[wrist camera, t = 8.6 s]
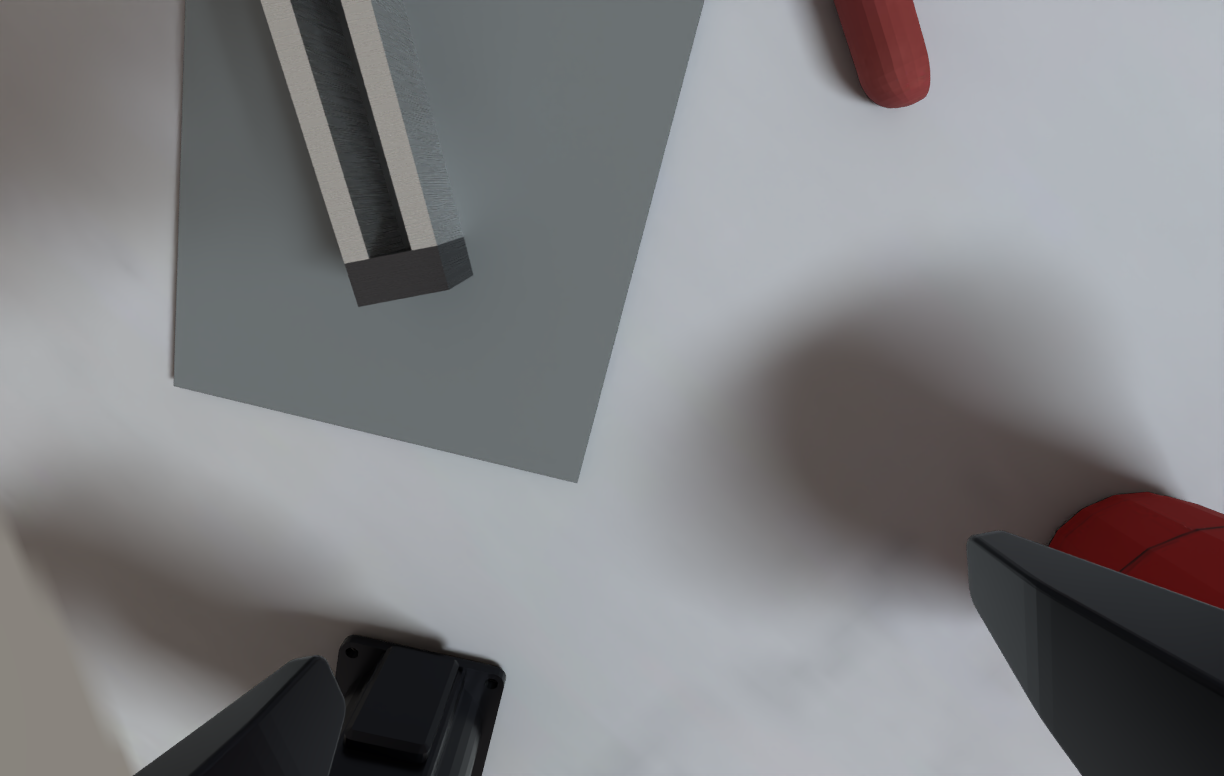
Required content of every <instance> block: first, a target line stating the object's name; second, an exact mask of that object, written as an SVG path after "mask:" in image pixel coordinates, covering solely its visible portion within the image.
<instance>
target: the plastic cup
mask: <svg viewBox="0 0 1224 776" xmlns="http://www.w3.org/2000/svg"><path fill="white" fill-rule="evenodd" d="M1048 547H1050V548H1053V549H1056V550H1058V551H1061V552H1064V553H1067V554H1070V555H1072V556H1075V557H1078V558H1081V559H1084V560H1086V561H1089V562H1092V563H1095V564H1098V565H1100V566H1103V567H1106V568H1109V569H1112V570H1114V571H1117V572H1120V573H1123V574H1126V575H1128V576H1131V577H1134V578H1137V579H1140V580H1142V581H1145V582H1148V583H1151V584H1153V585H1156V586H1159V587H1162V588H1165V589H1167V590H1170V591H1173V592H1176V593H1179V594H1181V595H1184V596H1187V597H1190V598H1193V599H1195V600H1198V601H1201V602H1204V603H1207V604H1209V605H1212V606H1215V607H1218V608H1221V609H1223V610H1224V514H1222V513H1219V512H1216V511H1214V510H1211V509H1208V508H1206V507H1203V506H1201V505H1198V504H1195V503H1191V502H1187V501H1184V500H1180V499H1176V498H1172V497H1169V496H1161V495H1158V494H1154V493H1150V492H1140V493H1130V494H1120V495H1113V496H1111V497H1109V498H1106V499H1104V500H1102V501H1099V502H1097V503H1095V504H1092V505H1090V506H1088V507H1085V508H1083V509H1082V510H1081V511H1079V512H1078V513H1077V514H1076V515H1075V516H1074V517H1072V518H1071V519H1070V520H1069V521H1068V522H1067V523H1065V524H1064V525H1063V526H1062V527H1061V528H1060V529H1059V530H1058V531H1057V532H1056V534H1055V536H1054V538H1053V539H1052V541H1051V543H1050V545H1049V546H1048Z"/></svg>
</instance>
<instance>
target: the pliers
mask: <svg viewBox="0 0 1224 776" xmlns="http://www.w3.org/2000/svg"><path fill="white" fill-rule="evenodd" d="M834 3H835V7H836V10H837V13H838V16H839V19H840V22H841V25H842V28H843V31H844V34H845V37H846V40H847V43H848V47H849V50H850V53H851V56H852V59H853V62H854V65H855V68H856V71H857V74H858V77H859V81H860V84H861V86H862V88H863V90H864V92H865V93H866V94H867V96H868V97H869V98H870V99H871V100H872V101H873V102H875V103H876V104H878V105H880V106H882V107H886V108H900V107H905V106H909V105H912V104H914V103H916V102H918V101H920V100H922V99H924V98H925V97H926V95H927V93H928V91H929V87H930V66H929V59H928V54H927V50H926V46H925V42H924V39H923V35H922V32H921V28H920V24H919V21H918V17H917V14H916V10H915V7H914V3H913V0H834Z"/></svg>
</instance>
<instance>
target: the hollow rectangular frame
mask: <svg viewBox="0 0 1224 776" xmlns="http://www.w3.org/2000/svg"><path fill="white" fill-rule="evenodd" d="M341 2H342V6H343V9H344V13H345V17H346V20H347V24H348V27H349V31H350V34H351V38H352V41H353V45H354V48H355V52H356V55H357V59H358V62H359V66H360V69H361V73H362V76H363V80H364V84H365V87H366V91H367V94H368V98H369V101H370V105H371V108H372V112H373V115H374V119H375V122H376V126H377V129H378V133H379V136H380V140H381V143H382V147H383V151H384V154H385V158H386V161H387V165H388V168H389V172H390V175H391V179H392V182H393V186H394V189H395V193H396V196H397V200H398V203H399V207H400V210H401V214H402V218H403V221H404V225H405V228H406V232H407V235H408V239H409V242H410V246H411V247H408V248H405V247H404V244H403V240H402V237H401V233H400V230H399V226H398V223H397V219H396V216H395V212H394V209H393V205H392V202H391V198H390V195H389V191H388V188H387V184H386V181H385V177H384V174H383V171H382V167H381V164H380V160H379V157H378V153H377V150H376V146H375V143H374V139H373V136H372V132H371V129H370V125H369V122H368V118H367V115H366V111H365V108H364V104H363V101H362V97H361V94H360V90H359V87H358V83H357V80H356V76H355V73H354V69H353V66H352V62H351V59H350V55H349V52H348V48H347V45H346V41H345V38H344V35H343V31H342V28H341V24H340V21H339V17H338V14H337V10H336V7H335V3H334V0H261V3H262V7H263V10H264V13H265V16H266V19H267V22H268V25H269V29H270V32H271V35H272V38H273V41H274V44H275V47H276V50H277V54H278V57H279V60H280V63H281V66H282V69H283V72H284V76H285V79H286V82H287V85H288V88H289V91H290V94H291V98H292V101H293V104H294V107H295V110H296V113H297V116H298V120H299V123H300V126H301V129H302V132H303V135H304V138H305V142H306V145H307V148H308V151H309V154H310V157H311V160H312V164H313V167H314V170H315V173H316V176H317V179H318V182H319V185H320V189H321V192H322V195H323V198H324V201H325V204H326V207H327V211H328V214H329V217H330V220H331V223H332V226H333V229H334V233H335V236H336V239H337V242H338V245H339V248H340V251H341V255H342V258H343V261H344V264H345V267H346V270H347V273H348V277H349V280H350V283H351V286H352V289H353V292H354V295H355V298H356V302H357V305H358V307H361V306H367V305H372V304H377V303H382V302H388V301H393V300H398V299H404V298H409V297H414V296H419V295H425V294H430V293H435V292H441V291H446V290H450V289H451V288H453V287H455V286H456V285H458V284H460V283H461V282H463V281H465V280H466V279H468V278H470V277H471V276H473V271H472V267H471V263H470V260H469V256H468V252H467V248H466V244H465V240H464V236H463V232H462V228H461V225H460V221H459V217H458V213H457V209H456V205H455V201H454V197H453V193H452V189H451V186H450V182H449V178H448V174H447V170H446V166H445V162H444V158H443V154H442V151H441V147H440V143H439V139H438V135H437V131H436V127H435V123H434V119H433V115H432V112H431V108H430V104H429V100H428V96H427V92H426V88H425V84H424V80H423V76H422V73H421V69H420V65H419V61H418V57H417V53H416V49H415V45H414V41H413V38H412V34H411V30H410V26H409V22H408V18H407V14H406V10H405V6H404V2H403V0H341Z"/></svg>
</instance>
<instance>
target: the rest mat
mask: <svg viewBox="0 0 1224 776" xmlns="http://www.w3.org/2000/svg"><path fill="white" fill-rule="evenodd" d="M403 2H404V6H405V10H406V14H407V18H408V22H409V26H410V30H411V34H412V38H413V41H414V45H415V49H416V53H417V57H418V61H419V65H420V69H421V73H422V76H423V80H424V84H425V88H426V92H427V96H428V100H429V104H430V108H431V112H432V115H433V119H434V123H435V127H436V131H437V135H438V139H439V143H440V147H441V151H442V154H443V158H444V162H445V166H446V170H447V174H448V178H449V182H450V186H451V189H452V193H453V197H454V201H455V205H456V209H457V213H458V217H459V221H460V225H461V228H462V232H463V236H464V240H465V244H466V248H467V252H468V256H469V260H470V263H471V267H472V271H473V276H471V277H470V278H468V279H466V280H465V281H463V282H461V283H460V284H458V285H456V286H455V287H453V288H451V289H450V290H446V291H441V292H435V293H430V294H425V295H419V296H414V297H409V298H404V299H398V300H393V301H388V302H382V303H377V304H372V305H367V306H361V307H358V305H357V302H356V298H355V295H354V292H353V289H352V286H351V283H350V280H349V277H348V273H347V270H346V267H345V264H344V261H343V258H342V255H341V251H340V248H339V245H338V242H337V239H336V236H335V233H334V229H333V226H332V223H331V220H330V217H329V214H328V211H327V207H326V204H325V201H324V198H323V195H322V192H321V189H320V185H319V182H318V179H317V176H316V173H315V170H314V167H313V164H312V160H311V157H310V154H309V151H308V148H307V145H306V142H305V138H304V135H303V132H302V129H301V126H300V123H299V120H298V116H297V113H296V110H295V107H294V104H293V101H292V98H291V94H290V91H289V88H288V85H287V82H286V79H285V76H284V72H283V69H282V66H281V63H280V60H279V57H278V54H277V50H276V47H275V44H274V41H273V38H272V35H271V32H270V29H269V25H268V22H267V19H266V16H265V13H264V10H263V7H262V3H261V0H185V31H184V64H183V97H182V129H181V162H180V195H179V227H178V260H177V293H176V325H175V358H174V386H176V387H180V388H184V389H188V390H193V391H197V392H201V393H205V394H209V395H213V396H217V397H222V398H226V399H230V400H234V401H238V402H242V403H247V404H251V405H255V406H259V407H263V408H267V409H271V410H276V411H280V412H284V413H288V414H292V415H296V416H300V417H305V418H309V419H313V420H317V421H321V422H325V423H329V424H334V425H338V426H342V427H346V428H350V429H354V430H358V431H363V432H367V433H371V434H375V435H379V436H383V437H388V438H392V439H396V440H400V441H404V442H408V443H412V444H417V445H421V446H425V447H429V448H433V449H437V450H441V451H446V452H450V453H454V454H458V455H462V456H466V457H470V458H475V459H479V460H483V461H487V462H491V463H495V464H500V465H504V466H508V467H512V468H516V469H520V470H524V471H529V472H533V473H537V474H541V475H545V476H549V477H553V478H558V479H562V480H566V481H570V482H574V483H577V481H578V478H579V474H580V470H581V466H582V463H583V459H584V455H585V451H586V447H587V444H588V440H589V436H590V432H591V428H592V425H593V421H594V417H595V413H596V409H597V406H598V402H599V398H600V394H601V390H602V387H603V383H604V379H605V375H606V371H607V368H608V364H609V360H610V356H611V352H612V349H613V345H614V341H615V337H616V333H617V330H618V326H619V322H620V318H621V314H622V311H623V307H624V303H625V299H626V295H627V292H628V288H629V284H630V280H631V277H632V273H633V269H634V265H635V261H636V258H637V254H638V250H639V246H640V242H641V239H642V235H643V231H644V227H645V223H646V220H647V216H648V212H649V208H650V204H651V201H652V197H653V193H654V189H655V185H656V182H657V178H658V174H659V170H660V166H661V163H662V159H663V155H664V151H665V147H666V144H667V140H668V136H669V132H670V128H671V125H672V121H673V117H674V113H675V109H676V106H677V102H678V98H679V94H680V91H681V87H682V83H683V79H684V75H685V72H686V68H687V64H688V60H689V56H690V53H691V49H692V45H693V41H694V37H695V34H696V30H697V26H698V22H699V18H700V15H701V11H702V7H703V3H704V0H403ZM334 3H335V7H336V10H337V14H338V17H339V21H340V24H341V28H342V31H343V35H344V38H345V41H346V45H347V48H348V52H349V55H350V59H351V62H352V66H353V69H354V73H355V76H356V80H357V83H358V87H359V90H360V94H361V97H362V101H363V104H364V108H365V111H366V115H367V118H368V122H369V125H370V129H371V132H372V136H373V139H374V143H375V146H376V150H377V153H378V157H379V160H380V164H381V167H382V171H383V174H384V177H385V181H386V184H387V188H388V191H389V195H390V198H391V202H392V205H393V209H394V212H395V216H396V219H397V223H398V226H399V230H400V233H401V237H402V240H403V244H404V247H405V248H408V247H411V246H410V242H409V239H408V235H407V232H406V228H405V225H404V221H403V218H402V214H401V210H400V207H399V203H398V200H397V196H396V193H395V189H394V186H393V182H392V179H391V175H390V172H389V168H388V165H387V161H386V158H385V154H384V151H383V147H382V143H381V140H380V136H379V133H378V129H377V126H376V122H375V119H374V115H373V112H372V108H371V105H370V101H369V98H368V94H367V91H366V87H365V84H364V80H363V76H362V73H361V69H360V66H359V62H358V59H357V55H356V52H355V48H354V45H353V41H352V38H351V34H350V31H349V27H348V24H347V20H346V17H345V13H344V9H343V6H342V2H341V0H334Z"/></svg>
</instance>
